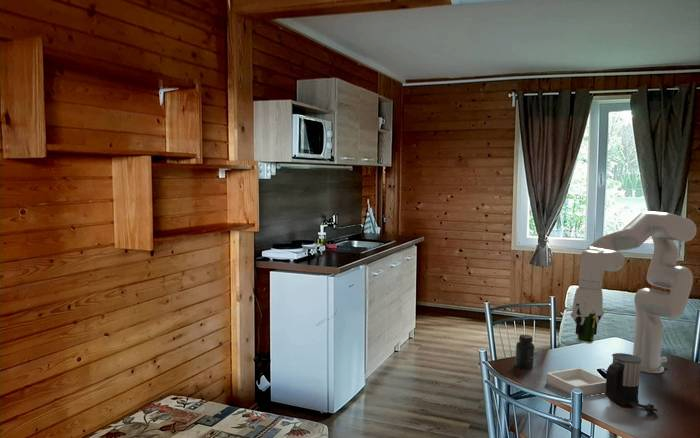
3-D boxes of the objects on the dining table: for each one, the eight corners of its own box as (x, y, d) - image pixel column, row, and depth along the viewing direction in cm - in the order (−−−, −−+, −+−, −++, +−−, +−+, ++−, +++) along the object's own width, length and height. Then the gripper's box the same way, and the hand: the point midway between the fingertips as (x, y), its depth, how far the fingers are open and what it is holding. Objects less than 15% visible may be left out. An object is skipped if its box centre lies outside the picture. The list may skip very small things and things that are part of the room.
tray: (579, 378, 207) (579, 367, 206) (610, 392, 194) (611, 381, 194) (545, 383, 200) (546, 373, 200) (575, 399, 188) (576, 387, 187)
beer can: (577, 342, 200) (580, 309, 198) (576, 338, 205) (579, 306, 204) (594, 344, 198) (596, 311, 197) (592, 340, 203) (595, 308, 202)
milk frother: (612, 392, 195) (615, 350, 193) (663, 405, 185) (667, 361, 183) (600, 404, 184) (604, 360, 182) (654, 419, 174) (657, 373, 172)
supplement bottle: (534, 370, 214) (536, 339, 213) (515, 368, 215) (517, 338, 214) (532, 364, 220) (534, 334, 219) (514, 362, 222) (515, 332, 221)
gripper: (599, 281, 206) (595, 329, 208) (563, 283, 199) (559, 333, 201) (616, 286, 199) (611, 335, 201) (580, 287, 193) (575, 339, 194)
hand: (585, 333), depth 201 cm, fingers closed on beer can, 5 cm apart
